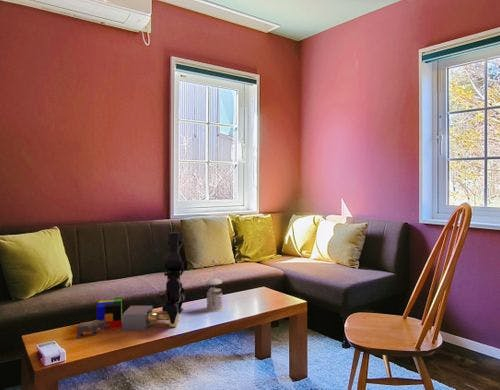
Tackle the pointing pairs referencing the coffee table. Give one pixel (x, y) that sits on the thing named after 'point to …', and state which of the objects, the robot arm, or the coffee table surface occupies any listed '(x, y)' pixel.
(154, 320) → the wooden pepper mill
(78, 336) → the rhino figurine
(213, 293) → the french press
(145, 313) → the housing
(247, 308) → the coffee table surface
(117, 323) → the puzzle toy
